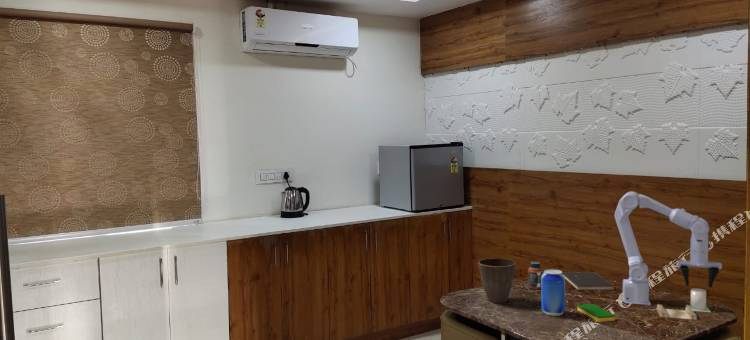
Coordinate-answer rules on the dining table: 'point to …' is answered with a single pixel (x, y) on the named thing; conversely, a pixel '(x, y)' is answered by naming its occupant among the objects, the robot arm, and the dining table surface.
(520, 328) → the dining table surface
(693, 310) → the mat
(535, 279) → the supplement bottle
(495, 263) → the plant pot
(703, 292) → the white domed cylinder
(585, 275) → the hardcover book
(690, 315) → the cradle
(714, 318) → the dining table surface
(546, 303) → the beer can
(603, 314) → the dish sponge
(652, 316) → the dining table surface
